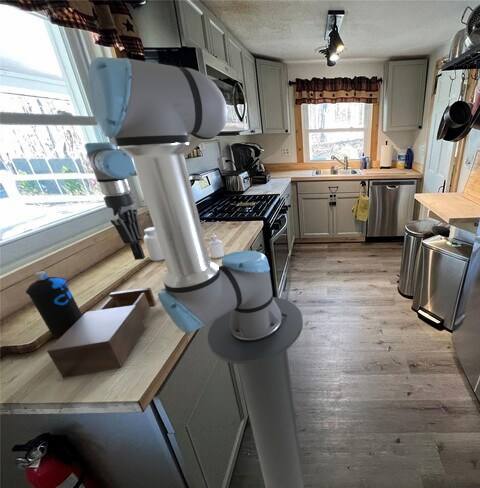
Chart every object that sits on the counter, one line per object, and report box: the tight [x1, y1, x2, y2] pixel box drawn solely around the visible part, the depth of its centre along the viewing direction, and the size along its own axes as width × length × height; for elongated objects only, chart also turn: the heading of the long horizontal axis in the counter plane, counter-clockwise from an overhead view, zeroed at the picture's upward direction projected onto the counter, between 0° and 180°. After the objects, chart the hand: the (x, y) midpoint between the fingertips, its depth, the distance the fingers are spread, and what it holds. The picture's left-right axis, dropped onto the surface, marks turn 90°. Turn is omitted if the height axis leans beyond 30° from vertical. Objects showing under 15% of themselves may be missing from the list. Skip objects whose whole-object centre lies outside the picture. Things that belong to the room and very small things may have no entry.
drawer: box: [97, 287, 157, 322], centre depth 82 cm, size 18×12×7 cm, turn 12°
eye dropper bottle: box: [208, 232, 225, 259], centre depth 122 cm, size 4×6×12 cm
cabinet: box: [46, 305, 146, 379], centre depth 69 cm, size 15×13×9 cm
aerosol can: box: [25, 270, 83, 339], centre depth 76 cm, size 8×8×20 cm
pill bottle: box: [143, 226, 165, 262], centre depth 123 cm, size 8×8×15 cm
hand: (140, 258), depth 93 cm, fingers closed
